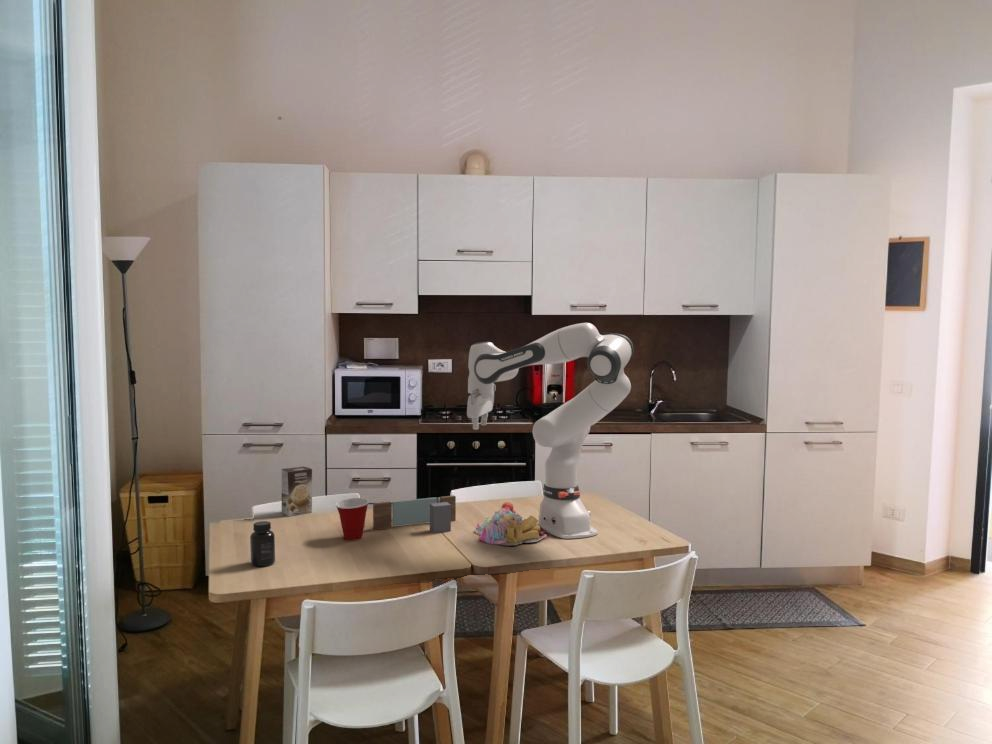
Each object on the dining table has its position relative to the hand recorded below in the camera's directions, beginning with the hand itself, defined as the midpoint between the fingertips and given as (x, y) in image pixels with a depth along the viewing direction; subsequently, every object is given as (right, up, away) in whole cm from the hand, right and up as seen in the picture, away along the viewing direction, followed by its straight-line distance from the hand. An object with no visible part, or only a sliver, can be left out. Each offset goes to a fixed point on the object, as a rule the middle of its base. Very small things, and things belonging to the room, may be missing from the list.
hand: (479, 427), depth 282 cm
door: (-22, -32, -6) cm, 39 cm away
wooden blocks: (-22, -33, -6) cm, 40 cm away
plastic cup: (-41, -34, -22) cm, 58 cm away
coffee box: (-66, -31, +7) cm, 73 cm away
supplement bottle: (-62, -37, -48) cm, 87 cm away
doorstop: (-13, -34, -13) cm, 38 cm away
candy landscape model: (+10, -35, -18) cm, 40 cm away
